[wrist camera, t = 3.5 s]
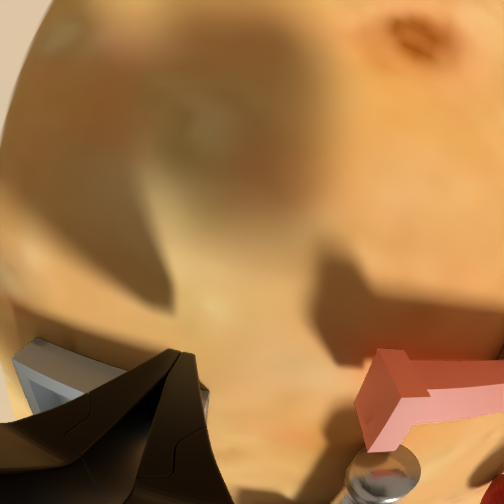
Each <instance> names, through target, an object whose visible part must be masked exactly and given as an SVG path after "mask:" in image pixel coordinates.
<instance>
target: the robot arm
mask: <svg viewBox="0 0 504 504" xmlns="http://www.w3.org/2000/svg"><path fill="white" fill-rule="evenodd" d="M0 504H234V502H233V500H232V498H231V495H230V493H229V491H228V489H227V487H226V484H225V482H224V480H223V478H222V475H221V473H220V471H219V468H218V466H217V463H216V460H215V457H214V454H213V451H212V447H211V443H210V439H209V434H208V429H207V424H206V419H205V413H204V408H203V402H202V396H201V390H200V384H199V377H198V371H197V364H196V357H195V355H194V354H192V353H187V352H182V353H181V351H178V350H174V349H166V350H165V351H163V352H161V353H159V354H158V355H156V356H154V357H152V358H150V359H149V360H147V361H145V362H143V363H141V364H140V365H138V366H136V367H134V368H132V369H130V370H129V371H127V372H125V373H123V374H121V375H119V376H117V377H116V378H114V379H112V380H110V381H108V382H106V383H104V384H102V385H100V386H99V387H97V388H95V389H93V390H91V391H89V394H88V393H85V394H83V395H81V396H79V397H77V398H75V399H73V400H71V401H69V402H66V403H64V404H62V405H59V406H57V407H54V408H52V409H49V410H46V411H44V412H41V413H38V414H35V415H32V416H29V417H26V418H23V419H20V420H17V421H14V422H8V423H0Z"/></svg>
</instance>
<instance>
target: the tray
mask: <svg viewBox="0 0 504 504" xmlns="http://www.w3.org/2000/svg"><path fill="white" fill-rule="evenodd" d="M12 361H13V364H14V367H15V370H16V373H17V376H18V378H19V381H20V384H21V386H22V389H23V392H24V394H25V397H26V399H27V401H28V404H29V406H30V408H31V411H32V413H33V415H35V414H38V413H41V412H44V411H46V410H49V409H52V408H54V407H57V406H59V405H62V404H64V403H66V402H69V401H71V400H73V399H75V398H77V397H79V396H81V395H83V394H85V393H88V394H89V391H91V390H93V389H95V388H97V387H99V386H100V385H102V384H104V383H106V382H108V381H110V380H112V379H114V378H116V377H117V376H119V375H121V374H123V373H125V372H127V371H126V370H123V369H120V368H117V367H114V366H111V365H108V364H105V363H102V362H99V361H96V360H93V359H90V358H87V357H85V356H82V355H79V354H76V353H74V352H71V351H69V350H66V349H64V348H61V347H59V346H56V345H54V344H51V343H49V342H47V341H44V340H42V339H40V338H37V337H35V338H34V339H33V340H32V341H31V342H30V343H28V344H27V345H26V346H25V347H24V348H23V349H22V350H20V351H19V352H18V353H17V354H16V355H15V356H14V357H12ZM201 396H202V402H203V408H204V413H205V419H206V423H207V412H208V402H209V391H204V390H201Z"/></svg>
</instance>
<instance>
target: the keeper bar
mask: <svg viewBox="0 0 504 504" xmlns="http://www.w3.org/2000/svg"><path fill="white" fill-rule="evenodd" d="M354 404H355V407H356V411H357V415H358V418H359V422H360V426H361V430H362V434H363V438H364V442H365V446H366V450H367V453H369V452H387V451H395V450H396V449H397V448H398V446H399V445H400V444H401V442H402V441H403V439H404V438H405V437H406V435H407V434H408V432H409V431H410V429H411V428H412V426H413V425H416V424H427V423H437V422H446V421H453V420H460V419H467V418H473V417H479V416H484V415H489V414H494V413H499V412H503V411H504V360H492V361H415V360H410V359H409V357H408V356H407V354H406V352H405V351H404V350H395V349H382V348H378V349H377V352H376V354H375V357H374V359H373V361H372V364H371V366H370V368H369V371H368V373H367V375H366V378H365V380H364V382H363V384H362V386H361V389H360V391H359V393H358V395H357V397H356V399H355V401H354Z"/></svg>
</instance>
